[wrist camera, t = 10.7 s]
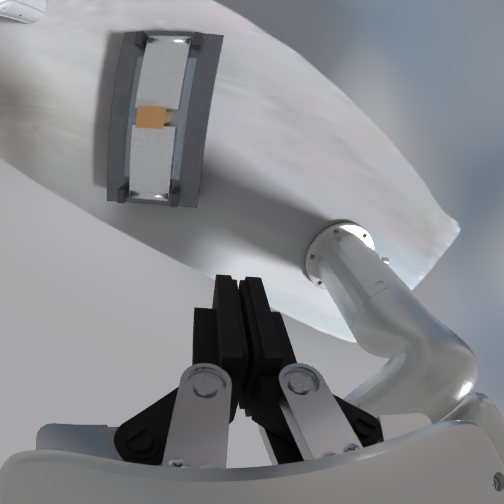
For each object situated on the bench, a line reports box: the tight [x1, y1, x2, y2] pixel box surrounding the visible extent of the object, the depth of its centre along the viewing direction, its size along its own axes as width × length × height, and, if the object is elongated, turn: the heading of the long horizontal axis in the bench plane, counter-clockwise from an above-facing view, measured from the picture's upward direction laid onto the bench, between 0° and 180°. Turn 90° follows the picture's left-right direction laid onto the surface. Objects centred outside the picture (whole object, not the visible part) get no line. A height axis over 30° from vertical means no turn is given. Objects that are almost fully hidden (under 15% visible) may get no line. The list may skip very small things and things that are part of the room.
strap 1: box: [135, 36, 191, 109], centre depth 25 cm, size 9×5×1 cm, turn 170°
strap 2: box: [129, 124, 176, 201], centre depth 30 cm, size 9×5×1 cm, turn 170°
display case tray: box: [107, 31, 224, 208], centre depth 28 cm, size 12×22×8 cm, turn 170°
